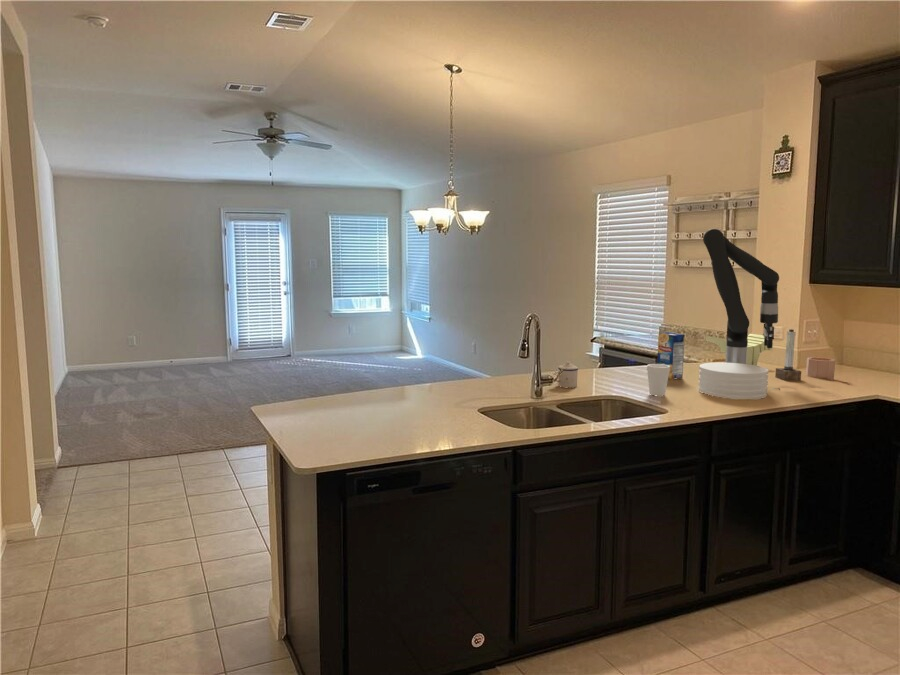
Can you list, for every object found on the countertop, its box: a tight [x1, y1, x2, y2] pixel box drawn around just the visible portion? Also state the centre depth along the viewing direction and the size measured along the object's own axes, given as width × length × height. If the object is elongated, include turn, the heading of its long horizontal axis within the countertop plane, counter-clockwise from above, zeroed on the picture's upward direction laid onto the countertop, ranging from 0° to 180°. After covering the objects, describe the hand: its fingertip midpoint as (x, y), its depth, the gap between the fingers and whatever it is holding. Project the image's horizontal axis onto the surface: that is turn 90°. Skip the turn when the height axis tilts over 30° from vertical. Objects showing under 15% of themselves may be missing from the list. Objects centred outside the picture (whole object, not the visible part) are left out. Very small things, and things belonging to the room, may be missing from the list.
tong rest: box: [774, 367, 802, 382], centre depth 307 cm, size 8×8×6 cm
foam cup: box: [646, 363, 670, 397], centre depth 277 cm, size 10×9×13 cm
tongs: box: [783, 328, 796, 371], centre depth 305 cm, size 3×2×24 cm
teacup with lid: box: [553, 361, 579, 388], centre depth 294 cm, size 12×9×12 cm
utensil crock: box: [805, 356, 836, 381], centre depth 314 cm, size 11×11×10 cm
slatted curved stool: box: [705, 333, 774, 366], centre depth 340 cm, size 30×16×18 cm, turn 109°
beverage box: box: [656, 331, 686, 380], centre depth 317 cm, size 7×11×22 cm, turn 22°
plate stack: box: [697, 361, 769, 400], centre depth 282 cm, size 28×28×12 cm
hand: (768, 346), depth 301 cm, fingers open, 8 cm apart
